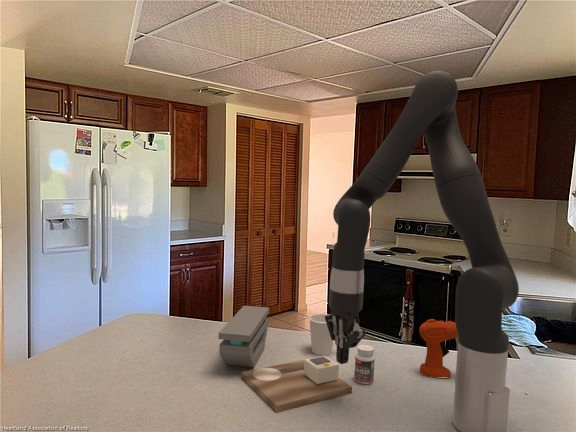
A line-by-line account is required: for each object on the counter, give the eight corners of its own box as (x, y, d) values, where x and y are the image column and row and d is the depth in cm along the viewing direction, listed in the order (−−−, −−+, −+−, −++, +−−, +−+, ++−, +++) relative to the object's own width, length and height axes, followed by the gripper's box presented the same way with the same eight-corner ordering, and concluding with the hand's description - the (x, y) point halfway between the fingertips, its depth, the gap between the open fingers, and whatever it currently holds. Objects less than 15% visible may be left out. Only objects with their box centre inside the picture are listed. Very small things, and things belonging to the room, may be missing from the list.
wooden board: (351, 392, 102) (351, 385, 101) (276, 412, 92) (276, 404, 91) (309, 363, 117) (309, 357, 117) (241, 377, 107) (241, 371, 107)
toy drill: (499, 379, 109) (495, 320, 108) (421, 379, 112) (417, 322, 111) (493, 370, 114) (489, 314, 113) (418, 371, 117) (414, 317, 116)
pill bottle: (351, 381, 108) (353, 348, 107) (357, 374, 112) (359, 342, 111) (370, 386, 105) (372, 352, 105) (375, 379, 110) (377, 346, 109)
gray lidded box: (248, 379, 107) (249, 335, 106) (217, 375, 108) (218, 332, 107) (267, 343, 131) (269, 307, 131) (242, 340, 132) (243, 305, 132)
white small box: (338, 379, 104) (339, 363, 104) (317, 384, 101) (318, 367, 101) (323, 369, 110) (324, 354, 109) (303, 373, 107) (304, 358, 106)
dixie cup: (336, 347, 130) (337, 314, 129) (336, 358, 122) (337, 323, 121) (308, 345, 131) (309, 312, 130) (306, 355, 123) (307, 321, 122)
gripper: (379, 293, 94) (373, 371, 95) (343, 279, 105) (338, 349, 107) (350, 296, 90) (345, 377, 92) (316, 282, 102) (312, 353, 103)
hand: (341, 362), depth 99 cm, fingers closed
